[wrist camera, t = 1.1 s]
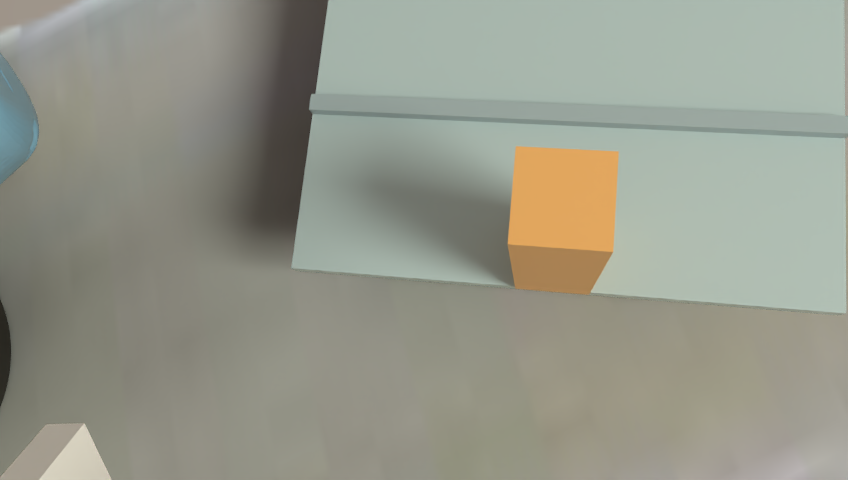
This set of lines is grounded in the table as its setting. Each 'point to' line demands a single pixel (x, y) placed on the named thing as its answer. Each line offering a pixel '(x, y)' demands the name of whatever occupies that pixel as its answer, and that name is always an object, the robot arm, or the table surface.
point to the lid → (583, 148)
